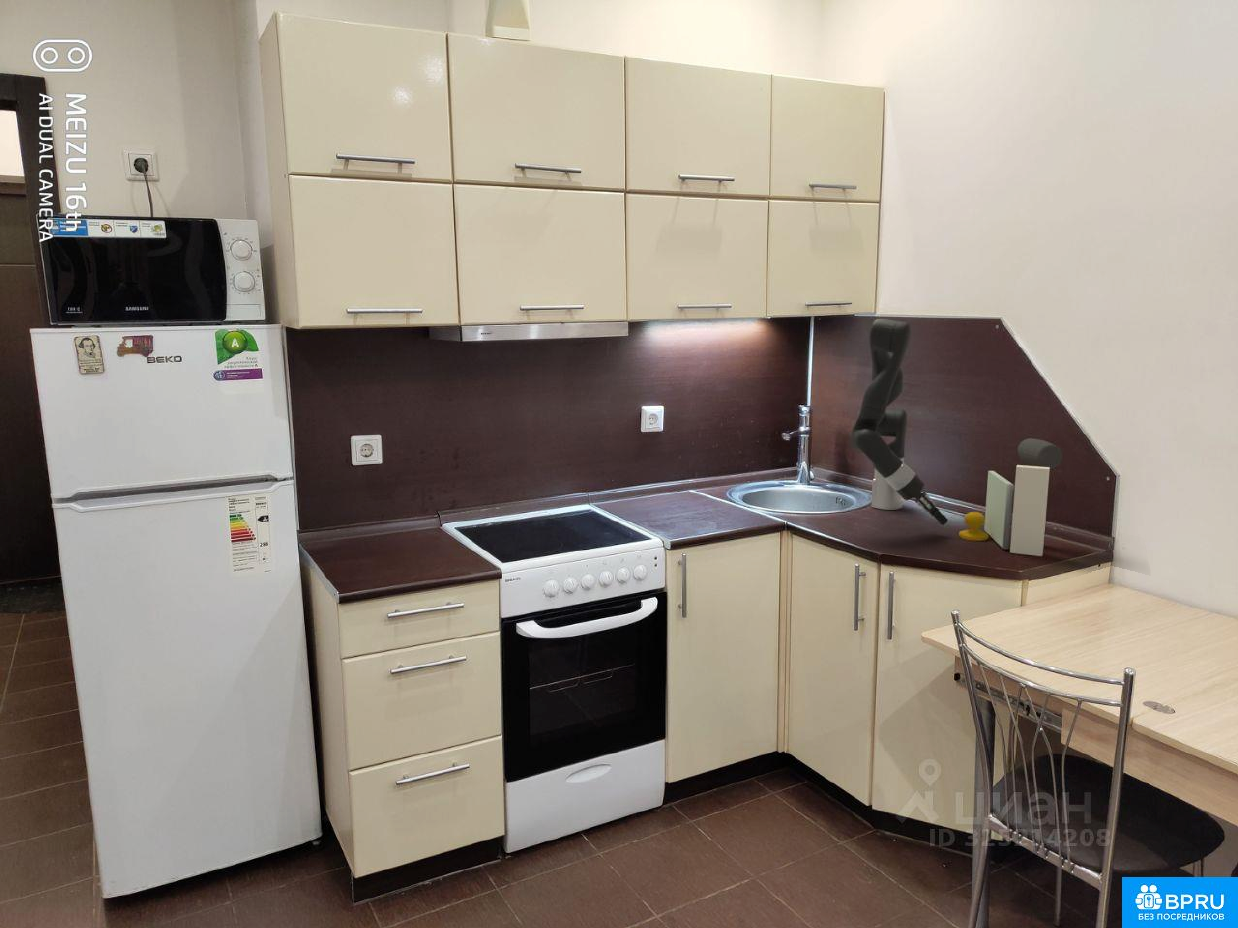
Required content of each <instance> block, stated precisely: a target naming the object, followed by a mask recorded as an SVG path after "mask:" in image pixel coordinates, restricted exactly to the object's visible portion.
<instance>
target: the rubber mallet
mask: <svg viewBox="0 0 1238 928" xmlns="http://www.w3.org/2000/svg"><path fill="white" fill-rule="evenodd" d="M1017 455H1018V457H1019V459H1021V460H1022V461H1023V462H1025V463H1027V464H1029V465H1030V466H1039V467H1050V470H1051V469H1053V468H1056V467H1057V466H1059V464H1060V463H1061V461H1062V459H1063V456H1062V455H1063V454H1062V450H1061V448H1059V446H1057V445H1055V444H1053V443H1051V442H1049V441H1046V440H1044V439H1038V438H1031V437H1030V438H1025V439H1023V440H1022V441H1020V443H1019V444H1018V448H1017Z"/></svg>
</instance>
